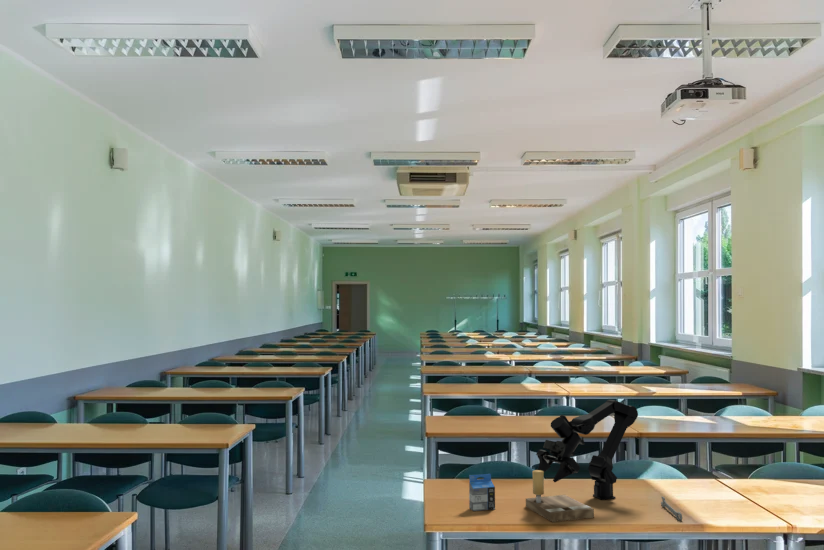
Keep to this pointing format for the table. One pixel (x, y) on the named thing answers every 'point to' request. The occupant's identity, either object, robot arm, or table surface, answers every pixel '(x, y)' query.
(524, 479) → the table surface
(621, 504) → the table surface
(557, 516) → the subfloor panel
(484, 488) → the ink cartridge box
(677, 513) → the combination wrench
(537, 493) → the tan handled tool
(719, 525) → the table surface
